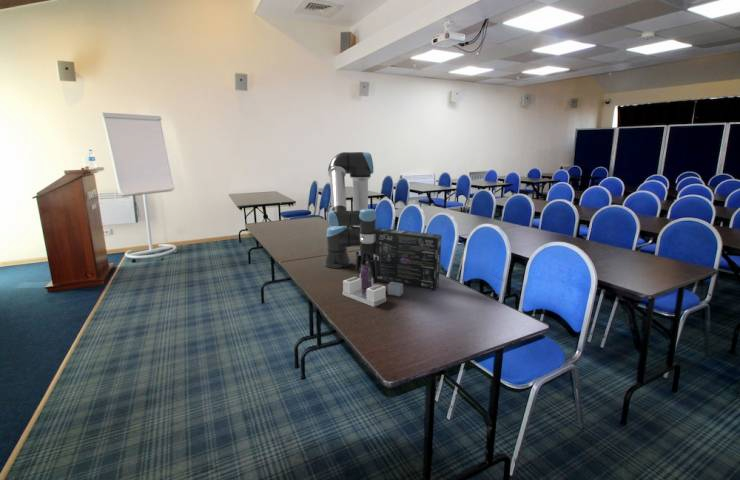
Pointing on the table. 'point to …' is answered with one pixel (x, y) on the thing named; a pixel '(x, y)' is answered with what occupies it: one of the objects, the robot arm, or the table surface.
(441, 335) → the table surface
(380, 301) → the white base plate
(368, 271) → the beverage can
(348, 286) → the block
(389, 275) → the box
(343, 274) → the table surface
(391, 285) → the block
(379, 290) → the block
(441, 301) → the table surface
